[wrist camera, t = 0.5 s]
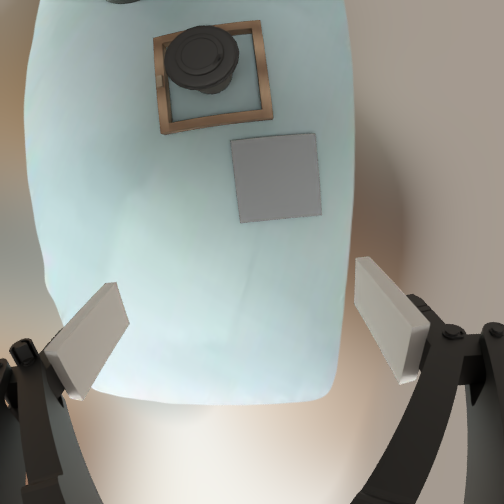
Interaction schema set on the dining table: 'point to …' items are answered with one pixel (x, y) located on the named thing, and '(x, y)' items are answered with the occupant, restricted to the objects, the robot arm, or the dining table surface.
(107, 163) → the dining table surface
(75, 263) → the dining table surface
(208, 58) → the coffee cup
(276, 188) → the pad
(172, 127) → the wooden square frame
